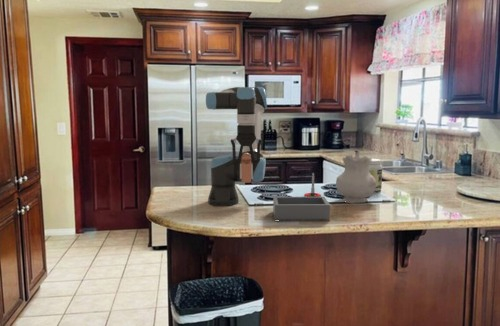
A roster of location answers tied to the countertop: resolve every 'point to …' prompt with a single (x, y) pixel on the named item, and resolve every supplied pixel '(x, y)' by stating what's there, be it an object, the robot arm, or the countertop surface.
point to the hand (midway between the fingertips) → (246, 178)
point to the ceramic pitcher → (356, 179)
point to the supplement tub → (376, 172)
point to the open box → (301, 209)
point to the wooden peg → (246, 168)
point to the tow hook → (312, 190)
